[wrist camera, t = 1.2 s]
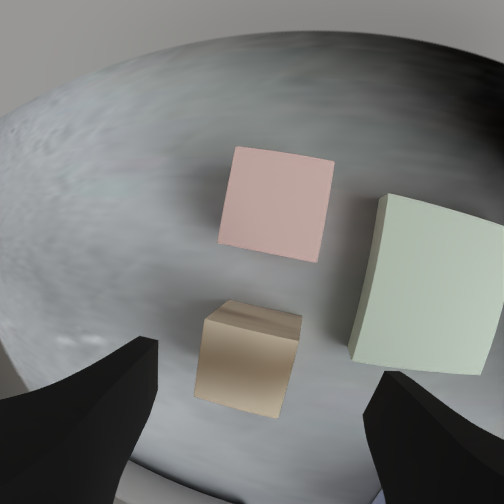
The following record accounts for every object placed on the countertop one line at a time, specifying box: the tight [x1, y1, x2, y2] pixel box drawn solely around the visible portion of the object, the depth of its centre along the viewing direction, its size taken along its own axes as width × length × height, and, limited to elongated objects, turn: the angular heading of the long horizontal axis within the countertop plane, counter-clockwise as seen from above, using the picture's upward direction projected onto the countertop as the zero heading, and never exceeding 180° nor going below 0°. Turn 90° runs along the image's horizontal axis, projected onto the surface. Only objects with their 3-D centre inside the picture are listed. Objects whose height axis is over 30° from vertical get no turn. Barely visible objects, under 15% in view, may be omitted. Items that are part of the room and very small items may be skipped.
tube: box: [115, 460, 233, 504], centre depth 21 cm, size 5×5×25 cm
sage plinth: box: [347, 193, 504, 375], centre depth 17 cm, size 10×10×3 cm
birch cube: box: [194, 300, 302, 419], centre depth 18 cm, size 5×5×5 cm
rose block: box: [217, 146, 335, 263], centre depth 17 cm, size 5×5×5 cm
